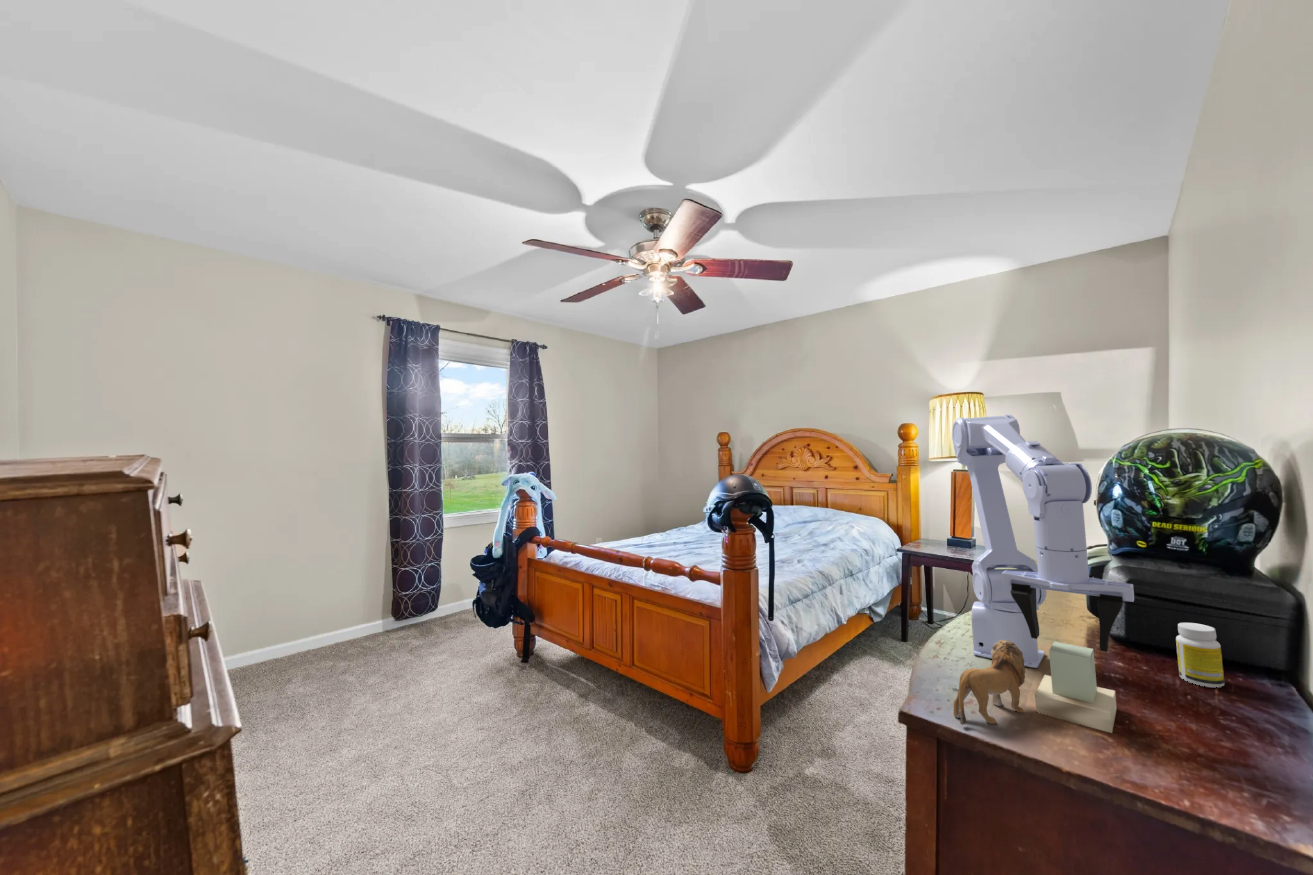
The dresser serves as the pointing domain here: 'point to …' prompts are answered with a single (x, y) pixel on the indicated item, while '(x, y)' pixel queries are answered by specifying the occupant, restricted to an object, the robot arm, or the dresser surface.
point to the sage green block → (1073, 671)
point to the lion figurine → (993, 681)
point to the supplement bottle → (1199, 655)
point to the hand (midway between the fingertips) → (1068, 642)
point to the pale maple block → (1077, 707)
